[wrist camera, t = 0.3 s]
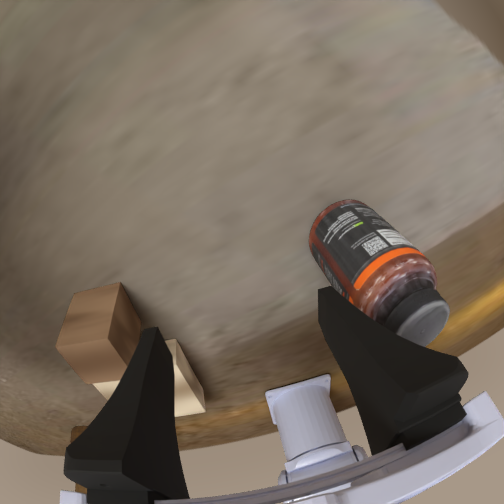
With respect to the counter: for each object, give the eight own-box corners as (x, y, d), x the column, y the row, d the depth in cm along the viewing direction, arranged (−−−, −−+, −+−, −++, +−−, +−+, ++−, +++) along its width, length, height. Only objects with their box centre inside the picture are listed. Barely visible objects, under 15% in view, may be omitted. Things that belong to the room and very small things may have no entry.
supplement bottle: (342, 272, 26) (408, 374, 17) (291, 244, 24) (353, 360, 14) (386, 219, 24) (474, 306, 15) (338, 181, 21) (438, 271, 12)
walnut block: (141, 322, 25) (136, 378, 20) (97, 330, 25) (86, 384, 20) (120, 281, 23) (107, 338, 18) (74, 293, 22) (55, 347, 17)
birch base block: (203, 389, 32) (205, 411, 29) (130, 400, 31) (129, 421, 28) (175, 338, 27) (176, 364, 24) (92, 353, 26) (87, 377, 24)
